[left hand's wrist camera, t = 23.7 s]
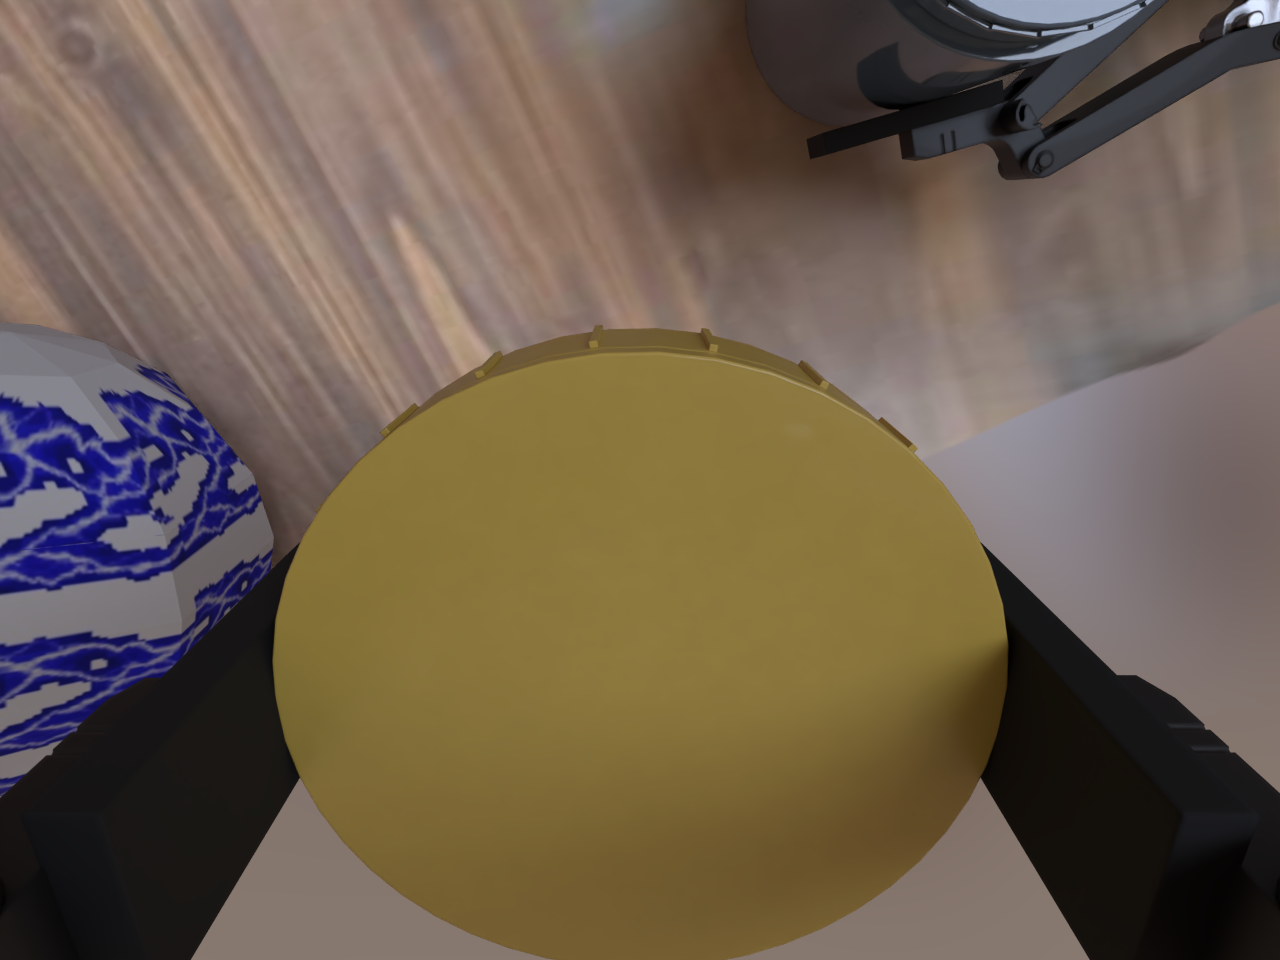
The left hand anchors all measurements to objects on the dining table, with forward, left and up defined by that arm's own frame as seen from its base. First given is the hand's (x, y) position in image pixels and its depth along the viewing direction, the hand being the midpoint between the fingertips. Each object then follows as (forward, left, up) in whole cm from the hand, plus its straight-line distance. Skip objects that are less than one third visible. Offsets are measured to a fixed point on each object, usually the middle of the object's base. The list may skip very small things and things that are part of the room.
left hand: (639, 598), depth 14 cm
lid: (0, 0, +3) cm, 3 cm away
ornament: (-28, +1, -25) cm, 38 cm away
